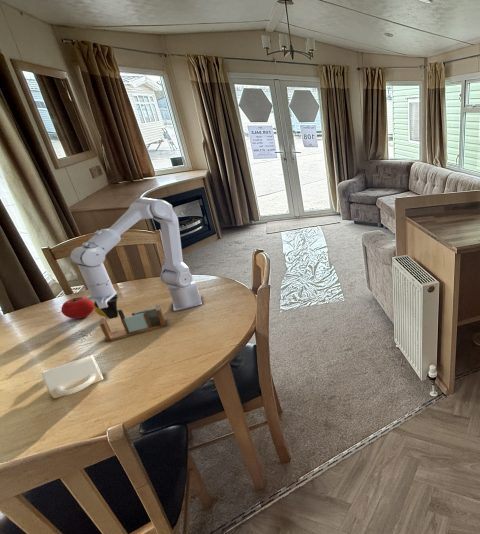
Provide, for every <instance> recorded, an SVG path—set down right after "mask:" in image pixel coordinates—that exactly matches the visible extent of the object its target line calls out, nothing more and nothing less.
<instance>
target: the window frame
mask: <svg viewBox="0 0 480 534" xmlns="http://www.w3.org/2000/svg"><path fill="white" fill-rule="evenodd" d="M145 312H146V313H147V315H148V318H149V321H150V323H151V327H148V328H144V329H140V330H137V331H133V332H130V333H126V330H125V328H124V329H120V330H116V331H113V332H112V330H111V328H110V326H109V323H108V321H107V320H106V318H105V317H103V318H100V322H99V327H100V329H101V330H102V332H103V335H104V338H105V339H106V341H107V342H111V341H115V340H118V339H123V338H126V337H130V336H134V335H138V334H142V333H145V332H149V331H153V330H157V329H160V328H164V327H166V319H165V317H164V314H163V311H162V309H161V306H160V305H155V307H152V308H149V309H145V310H140V311H136V312H132V313H131V316H134V315H138V314H142V313H145Z"/></svg>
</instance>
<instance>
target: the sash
mask: <svg viewBox="0 0 480 534" xmlns="http://www.w3.org/2000/svg"><path fill="white" fill-rule="evenodd" d="M117 310H118V316H119V318H120V321H121V323H122V326H123V328H124V329H125V330H126V333H130V332H133V331H137V330H140V329H144V328H148V327H151V323H150V321H149V318H148V315H147V313H146V312H145V313H142V314H138V315H134V316H132V315H131V316H125V314H124V312H123V309H122V308H120V309H117Z"/></svg>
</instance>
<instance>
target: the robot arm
mask: <svg viewBox="0 0 480 534" xmlns="http://www.w3.org/2000/svg"><path fill="white" fill-rule="evenodd" d="M173 209H174V208H173V204H171V203H169V202H168V201H166V200H164V199H155V198H148V197H139V198H137V199H136V200H135V201H134V202H132V203H131V204H130V205H129V208H128V209H127V210H126V211H125V212H124V213H123V214H122V215H121V216H120V217H119V218H118V219H117V220H116V221H115V222H114V223H113V224H112V225H111V226H110V227H109V228H101V229H100V230H98V229H97V230H96V231H94V235H93V236H92V237H90V238H89V239H88V240H87V241H86V242H85V241H84V242H83V243H82V246H79V247H75V248H73V249H72V250H71V252H70V257H69V258H68V260H69V261H70V262H72V263H73V264H75V265H77V267H78V269H79V272H80V274H81V277H82V279H83V281H84V283H85V285H86V288H87V289H88V292H89V294H90V295H87V296H86V298H87V299H88V300H92V301H93V302H94V305H95V306H96V307H97V308H99V309H101V310H102V311H103V312H104V313H105V314H106V316H105V317H107V318H108V319H109V320H110V319H112V320H113V319H116V318H118V317H119V313H118V310H119V309H118V305H117V304H118V299H119V295H118V294H117V291H116V290H115V288H114V286H113V282H112V280H111V278H110V276H109V274H108V271H107V269H106V266H105V264H104V262H105V261H106V255H108V253H109V252H111V250H112V249H113V248H115V247H116V246H117V245H118V244H119V243H120V242H121V241H122V237H121V235H122V234H124V233H125V232H126V231H128V230H129V229H130V228H132V227H133V226H134V225H136V223H138V222H139V221H141V220H149V219H150V220H151V219H153V220H154V221H156V222H157V223H159V225H160V231H161V238H162V246H163V247H162V249H163V254H164V263H163V265H162V266H161V273H160V275H159V277H160V281H161V282H162V283H163V284H166V287H167V289H168V292H169V295H170V297H171V300H172V309H173V311H174V312H177V311H181V310H185V309H189V308H194V307H197V306H200V305H203V301H202V295H201V293H200V292H199V288H198V285H197V281H193V275H192V273H191V271H190V268H189V266H188V265H187V264H186V263H184V257H183V249H182V241H181V233H180V224H179V218H178V216H177V214H176V213H175V211H174V210H173Z"/></svg>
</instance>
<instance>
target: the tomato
mask: <svg viewBox="0 0 480 534" xmlns="http://www.w3.org/2000/svg"><path fill="white" fill-rule="evenodd" d="M94 302H95V301H94V300H92V299H91V300H88V299H87V297H85V296H77V297H73V298H71V299H68V300H66V301H64V302H63V304H62V306H61V310H60V311H61V313H62V314H63V315H64V316H65V317H67V318H69V319H82V318H86V317H88V316H90V315H91V314H93V312H94V311H95V308H94Z"/></svg>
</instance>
